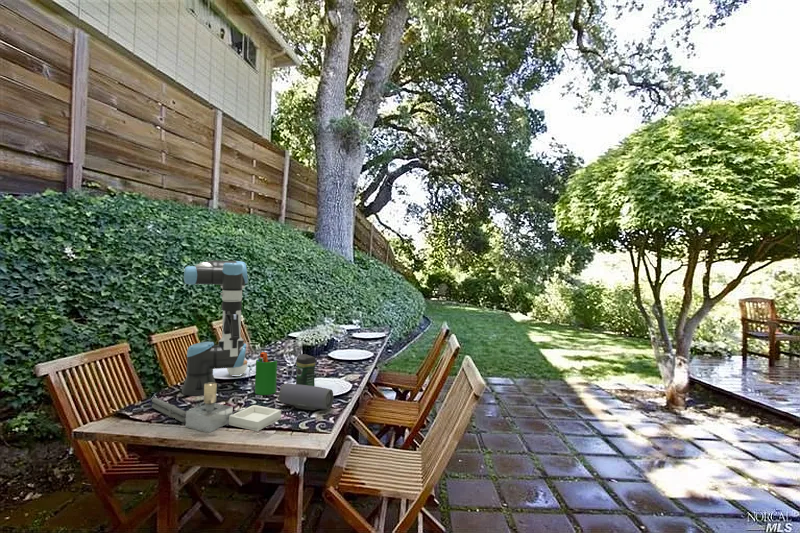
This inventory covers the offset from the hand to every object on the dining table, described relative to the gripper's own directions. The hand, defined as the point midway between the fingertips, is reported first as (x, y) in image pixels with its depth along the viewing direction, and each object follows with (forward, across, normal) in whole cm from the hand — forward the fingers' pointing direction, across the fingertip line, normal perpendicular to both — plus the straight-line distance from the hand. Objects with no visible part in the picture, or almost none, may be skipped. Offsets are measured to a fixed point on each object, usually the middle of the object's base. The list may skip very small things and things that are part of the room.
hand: (230, 352), depth 167 cm
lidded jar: (+27, -64, +16) cm, 71 cm away
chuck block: (+27, +2, -7) cm, 28 cm away
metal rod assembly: (+28, -16, -20) cm, 38 cm away
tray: (+27, +8, +9) cm, 30 cm away
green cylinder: (+27, -27, +22) cm, 44 cm away
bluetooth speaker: (+27, +2, +32) cm, 42 cm away
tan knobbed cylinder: (+27, +2, -7) cm, 28 cm away
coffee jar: (+27, -19, +39) cm, 51 cm away
